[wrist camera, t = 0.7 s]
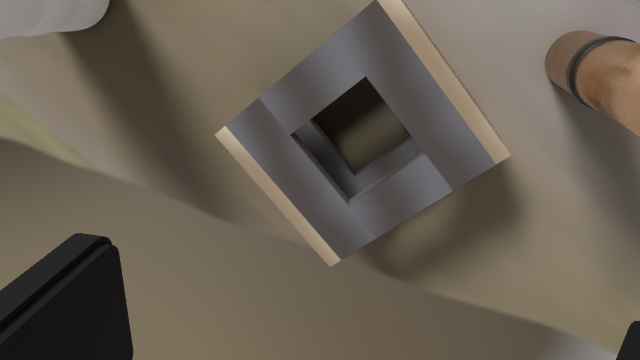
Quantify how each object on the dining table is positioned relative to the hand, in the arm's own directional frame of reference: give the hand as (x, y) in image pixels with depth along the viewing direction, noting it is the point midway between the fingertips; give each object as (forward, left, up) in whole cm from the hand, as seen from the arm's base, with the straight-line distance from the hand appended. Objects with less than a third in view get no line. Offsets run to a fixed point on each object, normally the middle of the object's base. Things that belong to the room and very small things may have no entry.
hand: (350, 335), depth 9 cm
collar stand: (+3, +1, -29) cm, 29 cm away
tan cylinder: (-11, +7, -29) cm, 32 cm away
